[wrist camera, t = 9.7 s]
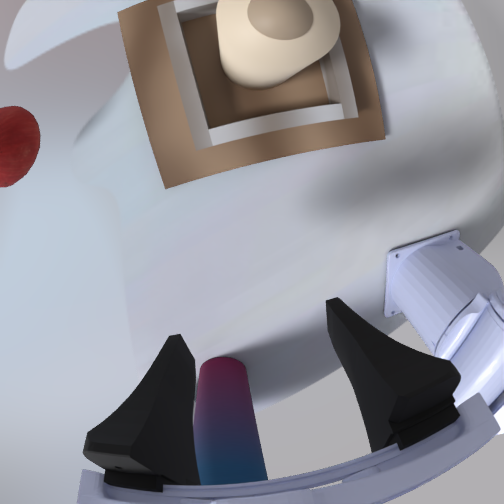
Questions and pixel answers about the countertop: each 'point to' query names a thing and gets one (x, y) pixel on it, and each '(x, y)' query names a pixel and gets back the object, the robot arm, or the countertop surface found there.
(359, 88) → the holder
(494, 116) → the countertop surface
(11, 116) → the red round fruit
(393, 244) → the countertop surface
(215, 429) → the cup
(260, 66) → the roll
